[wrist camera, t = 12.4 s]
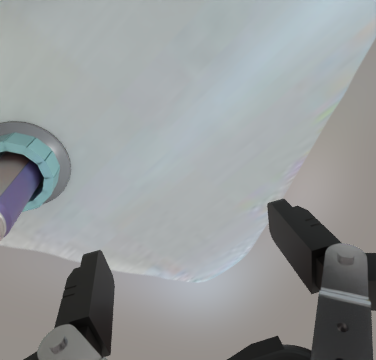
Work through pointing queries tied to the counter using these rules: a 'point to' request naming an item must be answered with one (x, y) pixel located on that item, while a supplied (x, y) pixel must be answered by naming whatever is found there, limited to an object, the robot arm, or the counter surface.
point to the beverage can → (15, 187)
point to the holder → (38, 158)
